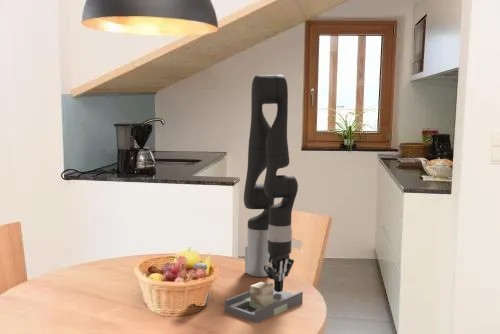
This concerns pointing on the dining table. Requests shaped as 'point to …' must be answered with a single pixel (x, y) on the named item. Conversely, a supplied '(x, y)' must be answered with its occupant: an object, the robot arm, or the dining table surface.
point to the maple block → (261, 293)
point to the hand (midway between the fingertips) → (278, 291)
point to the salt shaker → (204, 266)
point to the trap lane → (257, 312)
